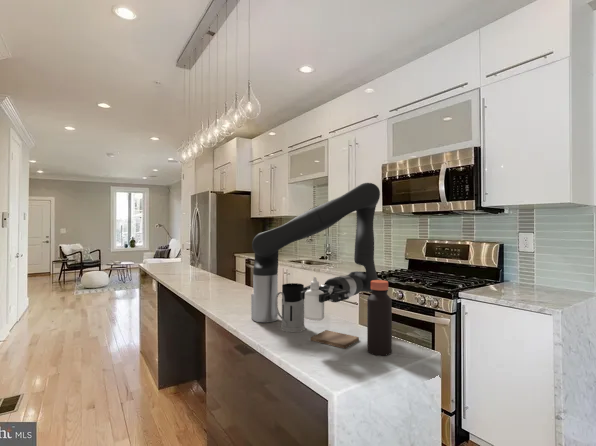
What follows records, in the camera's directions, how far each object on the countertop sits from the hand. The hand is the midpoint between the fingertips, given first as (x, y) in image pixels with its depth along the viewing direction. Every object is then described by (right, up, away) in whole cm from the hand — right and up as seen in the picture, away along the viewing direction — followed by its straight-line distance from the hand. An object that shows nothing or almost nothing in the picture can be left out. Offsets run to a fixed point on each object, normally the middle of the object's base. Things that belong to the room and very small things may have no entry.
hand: (310, 297), depth 97 cm
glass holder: (-7, -16, +21) cm, 27 cm away
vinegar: (+20, -16, +1) cm, 25 cm away
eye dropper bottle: (+1, -7, +2) cm, 7 cm away
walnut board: (+8, -16, +10) cm, 20 cm away
